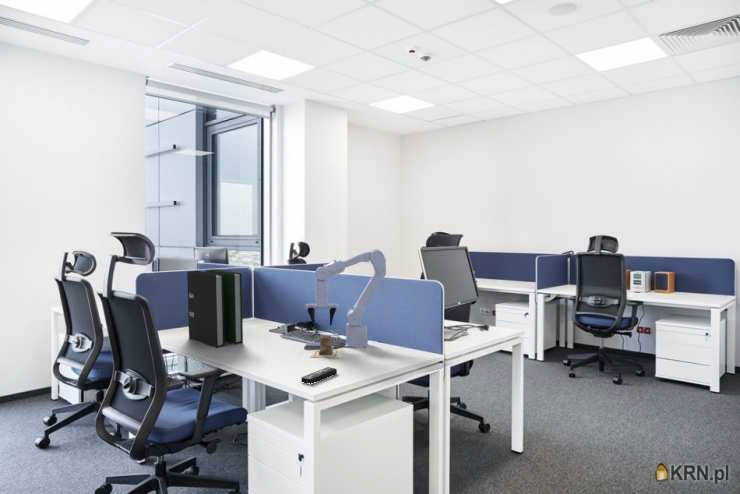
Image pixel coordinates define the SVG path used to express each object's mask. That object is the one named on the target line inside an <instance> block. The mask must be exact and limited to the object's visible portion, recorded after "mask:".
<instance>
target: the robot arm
mask: <svg viewBox="0 0 740 494" xmlns="http://www.w3.org/2000/svg"><path fill="white" fill-rule="evenodd" d="M386 259H387V258H386V257H385V254H384V252H382V251H381V250H379V249H377V248H374V249H371V250H367V251H364V252H360V253H358V254H356V255H354V256H351V257H350V258H347V259H345V260H340V259H333V260H332V262H330V263H328V264H323V266H319V267H317V268H316V270H315V273H314V278H315V280H314V281H315V285H314V289H315V290H314V292H315V293H314V294H315V295H314V296H315V303H306V304H305V306H304V309H305V310H307V313H308V315H309V318H310V320H311V325H312V326H315V325H316V318H315V314H316V311H315V310H316V309H319V310H321V309H324V310H325V309H326V310H328V309H329V326H333V319H334V316H335V314H336V311H337V310H338V309H339V308H340V306H339V305H340V304H339V303H329V283H328V278H332V277H335V276H337V275H339V274H341V273H344V272H345V271H346V268H349V267H351V266H355V265H357V264H359V263H362V262H363V263H371V265H372V268H373V271H374V273H373V275H372V276H371V277H370V279H369V281H368V283H367V284H366V286H365V288H364V290H363V291H362V293H361V294H360V296H359V298H358V299H357V301H356V302H355V304H354V305H353V307H352V308H350V309H348V311H347V313H346V318H347V323H346V325H345V330H346V331H345V333H346V334H345V335H346V336H345V339H346V342H345V344H346V345H345V344H344V347H345V348H366V347H367V346H368V341H369V339H368V325H366V324H365V325H364V324H363V322H362V321H363V315H365V311H366V309H367V307H368V305H369V303H370V302H371V300H372V299H373V297H374V295H375V294H376V292H377V290H378V289H379V287H380V285H381V283H382V282H383V280H384V279H385V276H386V274H387V265H386V264H387V263H386V262H387V260H386Z"/></svg>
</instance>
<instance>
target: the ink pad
mask: <svg viewBox="0 0 740 494" xmlns="http://www.w3.org/2000/svg"><path fill="white" fill-rule="evenodd" d="M303 349H304V350H320V342H307V343H306V344H305V346H304V348H303Z"/></svg>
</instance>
